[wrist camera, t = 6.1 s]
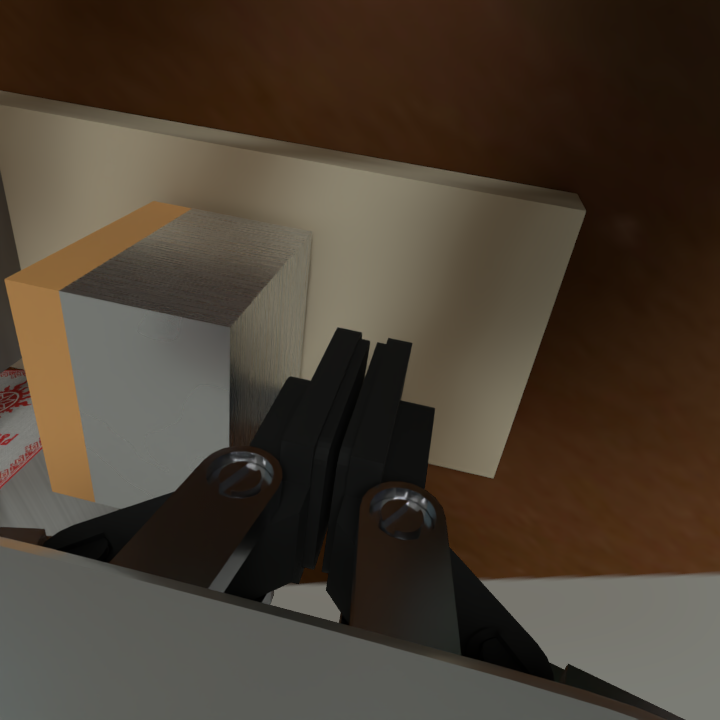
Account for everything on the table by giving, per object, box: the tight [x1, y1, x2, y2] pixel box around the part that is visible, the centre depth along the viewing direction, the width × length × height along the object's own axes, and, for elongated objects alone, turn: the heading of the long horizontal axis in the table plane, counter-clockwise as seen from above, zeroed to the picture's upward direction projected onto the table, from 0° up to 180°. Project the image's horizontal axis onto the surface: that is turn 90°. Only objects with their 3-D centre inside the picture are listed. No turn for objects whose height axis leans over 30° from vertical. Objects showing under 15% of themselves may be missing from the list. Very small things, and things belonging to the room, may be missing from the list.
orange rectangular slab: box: [4, 201, 192, 502], centre depth 13 cm, size 1×6×5 cm, turn 172°
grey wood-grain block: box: [59, 208, 312, 509], centre depth 13 cm, size 3×5×5 cm, turn 173°
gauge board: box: [0, 91, 586, 478], centre depth 13 cm, size 16×8×7 cm, turn 83°
